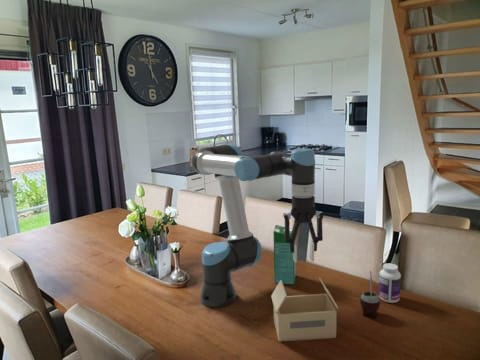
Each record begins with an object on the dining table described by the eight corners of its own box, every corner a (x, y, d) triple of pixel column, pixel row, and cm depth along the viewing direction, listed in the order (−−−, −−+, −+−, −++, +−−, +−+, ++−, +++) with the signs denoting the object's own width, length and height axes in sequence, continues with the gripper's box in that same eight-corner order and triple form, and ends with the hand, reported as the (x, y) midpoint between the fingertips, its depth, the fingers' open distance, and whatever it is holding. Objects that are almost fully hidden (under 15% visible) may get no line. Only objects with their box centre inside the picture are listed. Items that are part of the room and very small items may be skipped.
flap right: (337, 309, 123) (327, 293, 121) (328, 293, 134) (318, 278, 132) (339, 308, 123) (328, 292, 121) (329, 292, 133) (319, 277, 132)
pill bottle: (399, 295, 150) (400, 263, 147) (400, 305, 142) (402, 271, 139) (378, 292, 152) (379, 260, 149) (378, 302, 145) (380, 269, 142)
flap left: (272, 296, 133) (281, 280, 131) (276, 313, 122) (287, 295, 121) (270, 296, 133) (280, 279, 131) (275, 312, 122) (285, 295, 121)
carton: (278, 341, 124) (278, 315, 122) (273, 321, 135) (273, 297, 133) (336, 337, 124) (336, 311, 122) (326, 317, 136) (326, 293, 134)
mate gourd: (369, 321, 133) (370, 284, 130) (354, 310, 140) (355, 275, 137) (384, 315, 136) (386, 279, 133) (369, 305, 143) (370, 270, 140)
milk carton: (294, 284, 162) (294, 231, 157) (274, 283, 164) (273, 231, 158) (295, 275, 171) (295, 225, 165) (276, 274, 172) (275, 224, 167)
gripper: (277, 199, 115) (278, 266, 120) (333, 196, 116) (332, 263, 121) (274, 194, 123) (275, 257, 128) (327, 191, 124) (326, 254, 128)
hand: (303, 260), depth 124 cm, fingers open, 5 cm apart
